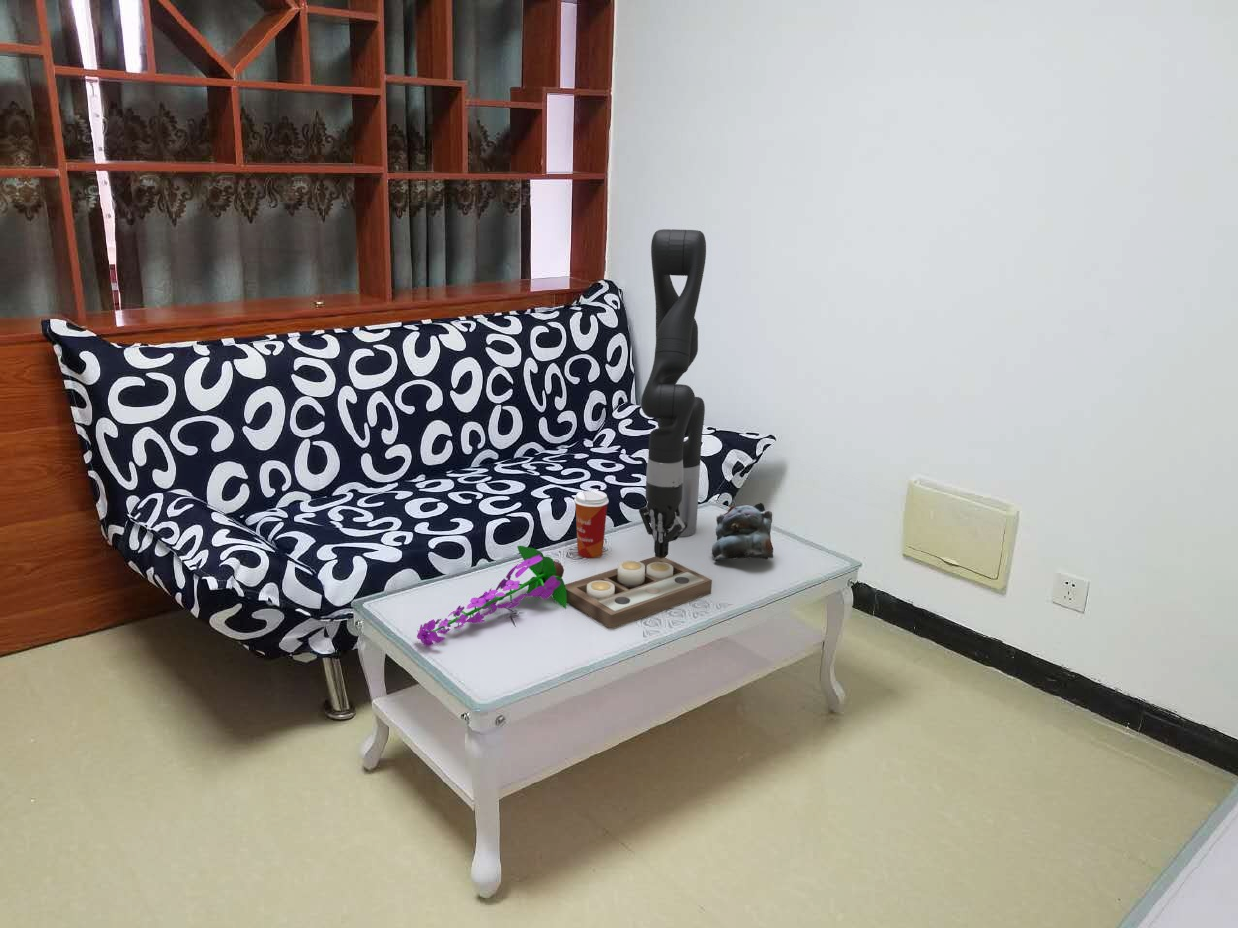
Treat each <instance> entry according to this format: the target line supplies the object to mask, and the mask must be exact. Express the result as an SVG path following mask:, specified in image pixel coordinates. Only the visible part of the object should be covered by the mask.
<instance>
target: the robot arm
mask: <svg viewBox="0 0 1238 928" xmlns="http://www.w3.org/2000/svg"><path fill="white" fill-rule="evenodd" d="M650 254H651V255H650V256H651V267H652V268H651V269H652V279H653V287H654V297H655V349H654V359H653V365H652V369H651V372H650V375H649V377H648V380H647V382H646V385H645V387H644V390H643V393H642V395H641V400H640V405H641V406H640V407H641V409H642V412H643V414H644V415H645V416H646V417H648V418H652V419H656V420H657V421H656V422H657V428H655V429H652V430H651V431H650V433H649V436H648V438H649V439H648V454H647V455H648V458H647V459H648V460H647V464H646V472H645V473H646V477H645V479H646V481H645V500H646V502H647V503H646V505H645V506H644V507H640V508H639V509H638V513H639V515H640V517H641V520H642V522H643V525H644V528H645V529H646V532H647V534H648V536H651V537H652V538H653V540H654V544H653V545H654V546H653V548H654V549H653V553H654V557H655V556H656V557H658V558H660V559H661V558H664V557H665V558H667V556H668V555H669V543H670V542H673V541H677V540H678V539H679V537H688V536H691V535H694V534H696V533H697V525H698V524H697V523H698V522H697V521H698V508H699V493H700V489H699V488H700V478H701V476H700V473H701V457H702V455H701V454H702V441H703V433H704V432H703V431H704V423H705V422H704V421H705V414H706V413H705V412H706V410H705V409H706V407H705V402H704V399H703V398H702V397H700V396H696V395H695V391H694V390H693V389H692V387H691V386H689V385H688V384H687V385H686V384H677V383H678V381H679V380H680V378H682V376H683V375H684V374H685V373H686V372H688V370H689V368H690V366H691V365H692V363H693V362H694V361H695V359H696V358H697V355H698V351H699V327H698V323H697V320H696V318H695V317H696V312H697V307H698V303H699V298H700V294H701V288H702V284H703V277H704V271H705V268H706V266H705V265H706V259H707V258H706V256H707V242H706V235H705V234H704V232H702V231H701V230H698V229H697V230H696V229H677V228H676V229H675V228H674V229H669V228H668V229H666V228H665V229H664V228H663V229H658V230H656V231H655V232H654V233H653V236H652V239H651V245H650ZM671 276H682V277H683V276H685V277H686V282H685V285H684V287H683V290H682V292H681V293H680V295H678V293H677V290H676V288H675V287H674V285H673V281H672V278H671ZM685 437H688V438H687V439H686V440H685Z"/></svg>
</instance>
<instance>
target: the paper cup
mask: <svg viewBox="0 0 1238 928" xmlns="http://www.w3.org/2000/svg"><path fill="white" fill-rule="evenodd" d="M573 502H574V503H575V518H576V519H575V521H576V522H575V523H576V543H577V545H576V547H577V555H578V556H580V557H581V558H585V559H596V558H599V557H601V556H602V555H603V551H604V543H605V532H606V520H607V512H608V511H607V509H608V504H609V502H610V501H609V498H608V495H607V493H605V492H603V491H600V490H595V489H594V490H592V489H591V490H583V491H579V492H577V493H576V496H575V497H574V499H573Z"/></svg>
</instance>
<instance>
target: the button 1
mask: <svg viewBox="0 0 1238 928" xmlns="http://www.w3.org/2000/svg"><path fill="white" fill-rule="evenodd" d="M587 594H588V595H590V596H592V597H593V598H595V599H597V600H600V599H603V598H606V597H609V596H612V595H615V586H614V584H613V583H611V582H608V581H602V580H598V581H592V582H590V583H588V584H587Z"/></svg>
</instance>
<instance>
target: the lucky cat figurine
mask: <svg viewBox="0 0 1238 928" xmlns="http://www.w3.org/2000/svg"><path fill="white" fill-rule="evenodd" d="M715 520H716V524H717V525H716V528H715V535H716V541H715V543H714V544H712V547H711V555H712V556H713V558H712V560H713V561H715V562H720V561H723V560H734V559H735V560H737V559H763V560H764V559H765V560H768V559H773V558H774V547H773V543H772V540H771V533H772V532H771V530H772V523H773V513H772V511H771V510H769V509H767V510H765V505H764V503H762V502H759V503H757V504H754V505H749V504H748V505H747V504H746V505H740V506H735V505H731V506H730V507H729V509H728V510H727V512H725V513H720V514H719V515H716V518H715Z"/></svg>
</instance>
